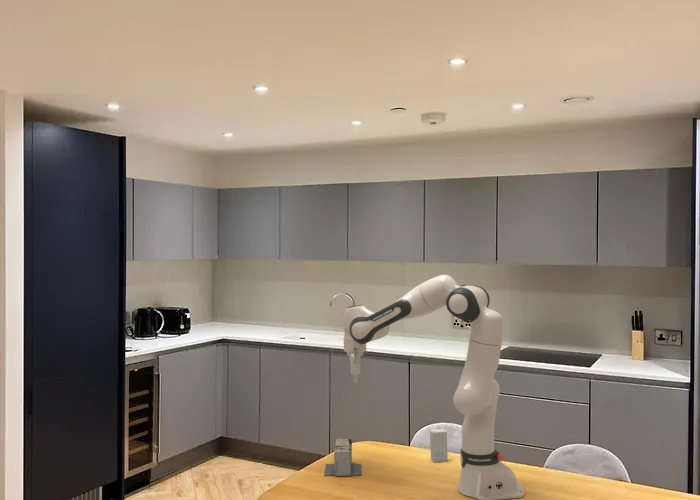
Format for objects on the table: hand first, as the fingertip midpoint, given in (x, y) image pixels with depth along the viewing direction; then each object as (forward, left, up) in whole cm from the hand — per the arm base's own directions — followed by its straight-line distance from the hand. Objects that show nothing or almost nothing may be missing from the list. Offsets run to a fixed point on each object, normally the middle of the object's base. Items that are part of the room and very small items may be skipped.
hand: (355, 382), depth 245 cm
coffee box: (+5, +10, -28) cm, 31 cm away
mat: (+5, +3, -33) cm, 34 cm away
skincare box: (-33, -7, -33) cm, 47 cm away
